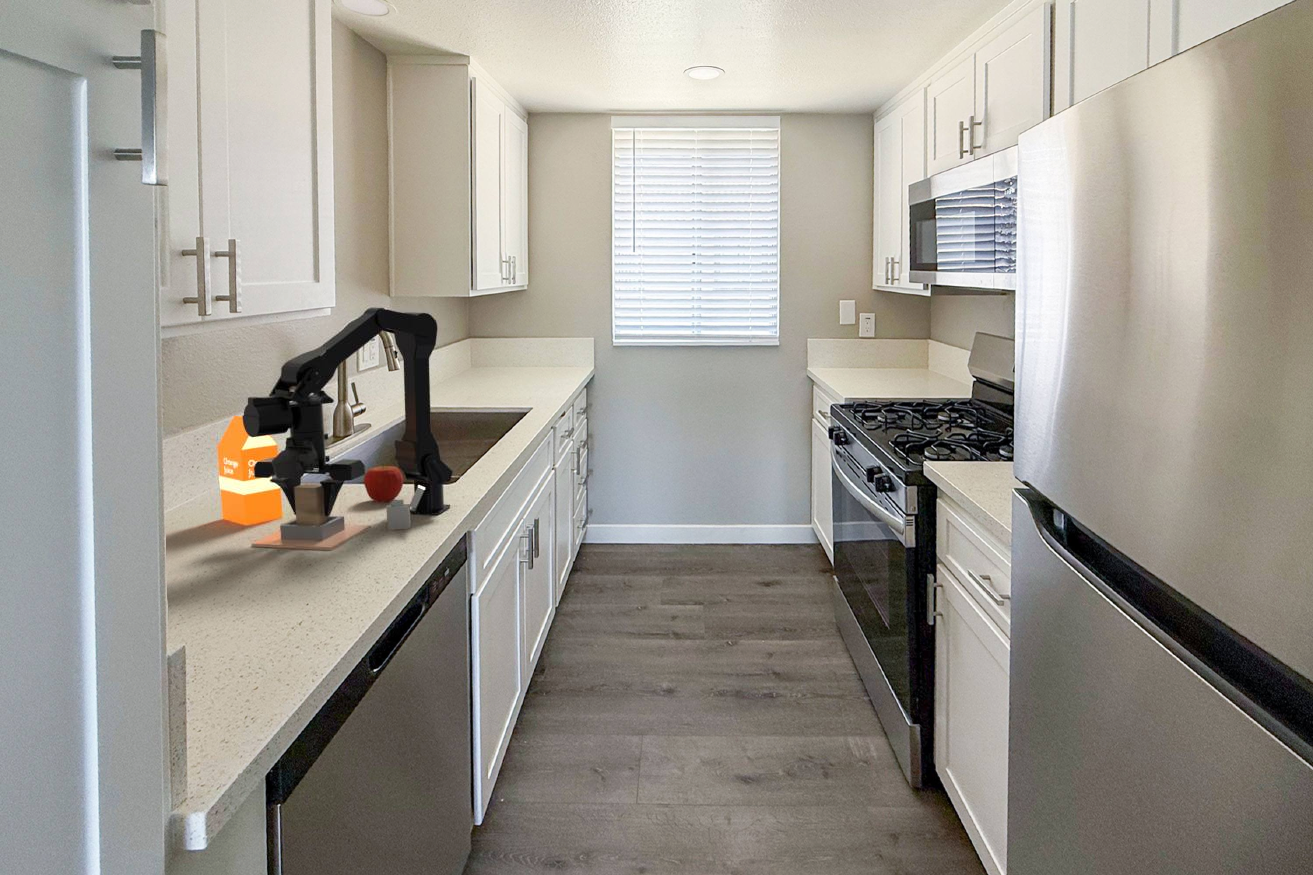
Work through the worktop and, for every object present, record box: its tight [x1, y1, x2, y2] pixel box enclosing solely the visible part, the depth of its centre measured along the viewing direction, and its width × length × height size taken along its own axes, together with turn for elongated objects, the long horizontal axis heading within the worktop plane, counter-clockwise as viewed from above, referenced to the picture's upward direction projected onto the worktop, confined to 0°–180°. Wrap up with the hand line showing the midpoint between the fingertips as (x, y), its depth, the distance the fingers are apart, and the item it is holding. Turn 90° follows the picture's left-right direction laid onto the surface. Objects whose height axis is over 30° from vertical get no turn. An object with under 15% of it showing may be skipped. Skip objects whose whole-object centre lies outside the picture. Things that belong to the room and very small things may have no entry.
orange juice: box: [216, 415, 283, 526], centre depth 183 cm, size 8×9×20 cm
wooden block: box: [294, 482, 329, 526], centre depth 170 cm, size 4×4×9 cm
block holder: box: [251, 515, 372, 551], centre depth 170 cm, size 15×15×3 cm
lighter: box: [385, 485, 425, 530], centre depth 176 cm, size 7×2×8 cm, turn 99°
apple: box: [363, 464, 404, 503], centre depth 198 cm, size 8×8×8 cm
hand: (312, 515), depth 170 cm, fingers open, 6 cm apart
